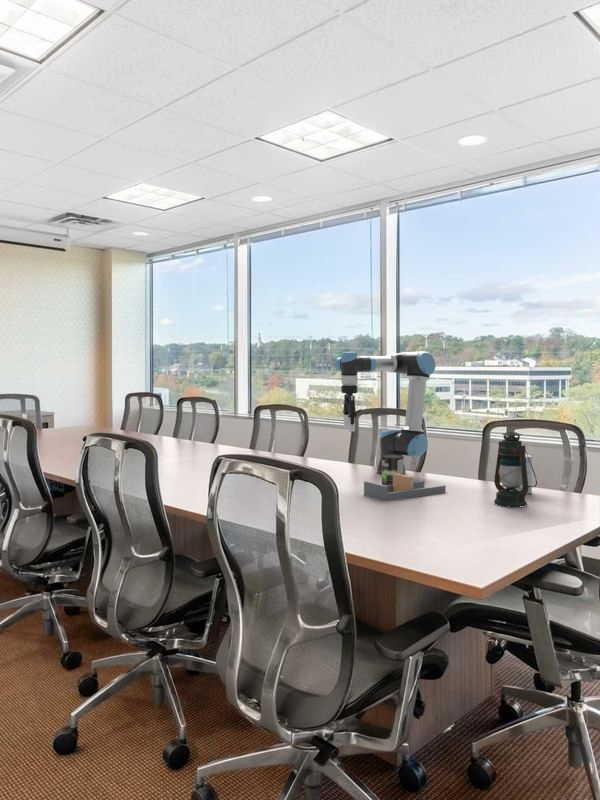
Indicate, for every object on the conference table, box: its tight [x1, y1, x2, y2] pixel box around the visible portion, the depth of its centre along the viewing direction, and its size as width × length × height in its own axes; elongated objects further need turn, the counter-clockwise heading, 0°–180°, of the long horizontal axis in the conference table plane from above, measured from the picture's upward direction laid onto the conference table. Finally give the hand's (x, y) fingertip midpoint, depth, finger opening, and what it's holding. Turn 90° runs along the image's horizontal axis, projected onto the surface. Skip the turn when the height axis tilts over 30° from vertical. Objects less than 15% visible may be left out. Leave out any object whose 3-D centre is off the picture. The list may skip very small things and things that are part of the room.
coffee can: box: [381, 455, 405, 486], centre depth 293 cm, size 10×10×14 cm
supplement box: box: [515, 453, 533, 493], centre depth 278 cm, size 10×9×17 cm
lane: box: [363, 480, 446, 502], centre depth 273 cm, size 35×14×6 cm, turn 123°
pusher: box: [393, 473, 414, 492], centre depth 272 cm, size 2×11×8 cm, turn 33°
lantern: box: [493, 431, 538, 508], centre depth 252 cm, size 19×14×30 cm
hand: (349, 430), depth 291 cm, fingers open, 13 cm apart
